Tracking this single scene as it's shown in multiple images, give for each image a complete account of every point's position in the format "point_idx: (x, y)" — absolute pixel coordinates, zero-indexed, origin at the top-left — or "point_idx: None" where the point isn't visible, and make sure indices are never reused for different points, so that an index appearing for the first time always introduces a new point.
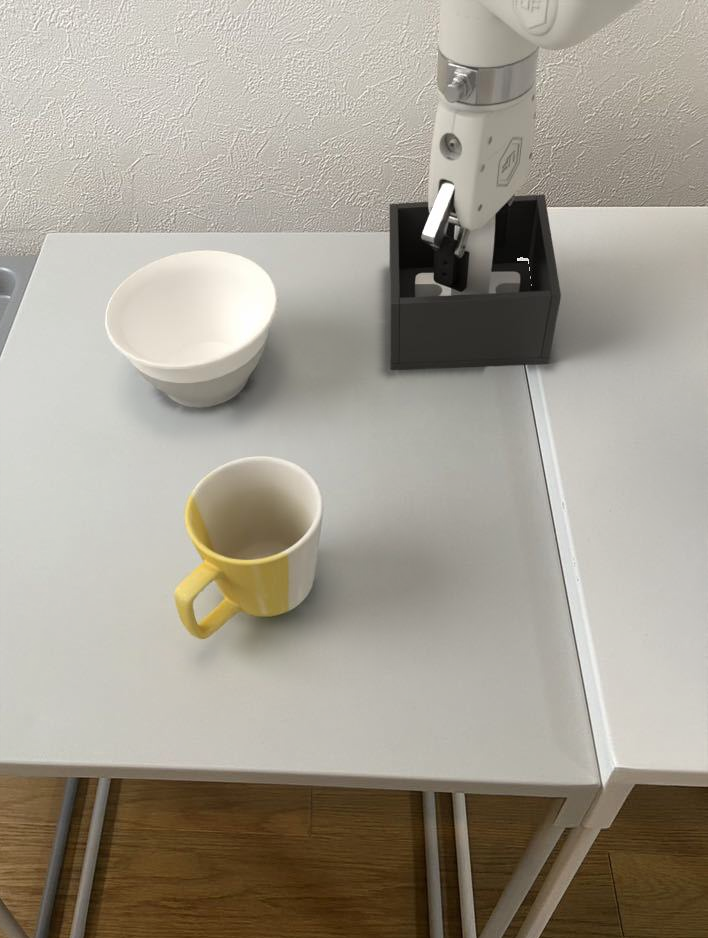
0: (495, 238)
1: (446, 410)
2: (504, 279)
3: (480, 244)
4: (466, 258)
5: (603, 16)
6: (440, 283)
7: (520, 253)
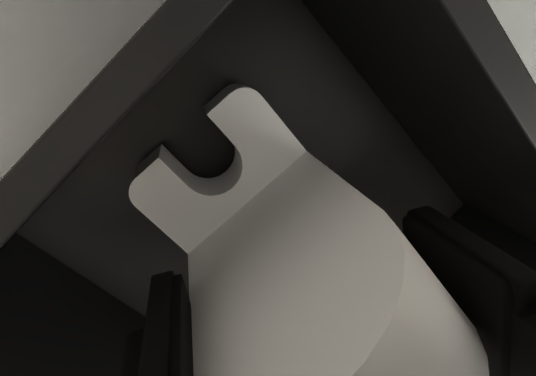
0: (187, 313)
1: (511, 31)
2: (179, 200)
3: (434, 292)
4: (527, 267)
5: None
6: None
7: (25, 260)
